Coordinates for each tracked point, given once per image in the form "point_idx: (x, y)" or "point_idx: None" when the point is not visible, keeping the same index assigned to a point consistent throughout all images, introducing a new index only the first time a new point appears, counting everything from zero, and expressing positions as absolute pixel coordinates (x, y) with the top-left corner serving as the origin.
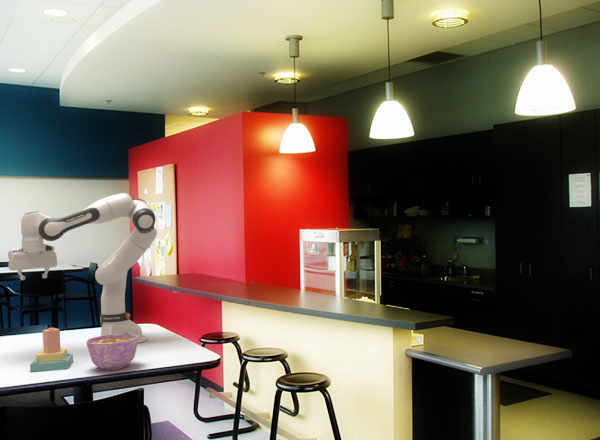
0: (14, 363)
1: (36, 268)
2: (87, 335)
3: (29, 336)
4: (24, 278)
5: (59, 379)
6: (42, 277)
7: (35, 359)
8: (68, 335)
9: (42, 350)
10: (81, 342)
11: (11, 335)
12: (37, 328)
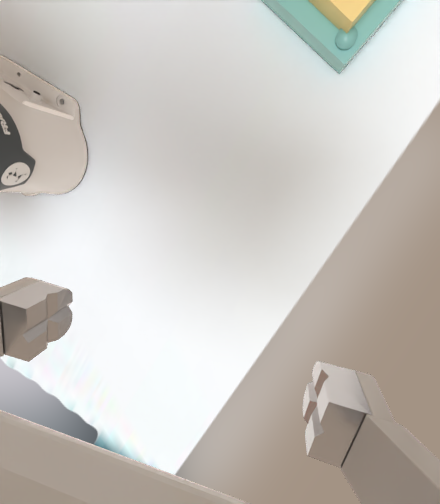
0: (363, 162)
1: (39, 425)
2: None
3: (141, 430)
4: (332, 372)
5: None
6: (66, 329)
7: (380, 19)
8: (82, 353)
9: (353, 11)
10: (103, 243)
11: None
12: None
